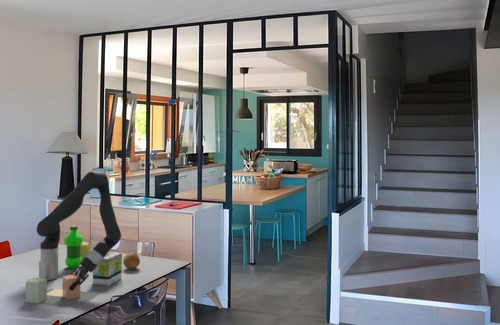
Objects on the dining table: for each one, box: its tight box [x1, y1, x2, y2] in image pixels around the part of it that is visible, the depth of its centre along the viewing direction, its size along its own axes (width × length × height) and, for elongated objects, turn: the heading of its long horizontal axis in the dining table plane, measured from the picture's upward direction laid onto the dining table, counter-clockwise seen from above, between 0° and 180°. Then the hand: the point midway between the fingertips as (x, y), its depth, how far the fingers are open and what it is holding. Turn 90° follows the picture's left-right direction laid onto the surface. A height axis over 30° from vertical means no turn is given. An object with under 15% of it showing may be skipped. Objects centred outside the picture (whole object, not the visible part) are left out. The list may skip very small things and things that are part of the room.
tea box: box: [92, 251, 123, 286], centre depth 271 cm, size 15×10×15 cm
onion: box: [122, 252, 141, 270], centre depth 297 cm, size 10×10×10 cm
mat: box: [24, 288, 102, 309], centre depth 241 cm, size 28×22×1 cm
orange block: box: [62, 274, 81, 300], centre depth 243 cm, size 7×7×10 cm
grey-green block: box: [25, 277, 48, 304], centre depth 237 cm, size 7×7×10 cm
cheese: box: [81, 241, 92, 260], centre depth 321 cm, size 10×11×10 cm
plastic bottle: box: [64, 225, 84, 270], centre depth 299 cm, size 10×10×25 cm
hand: (68, 287), depth 242 cm, fingers closed on orange block, 6 cm apart
